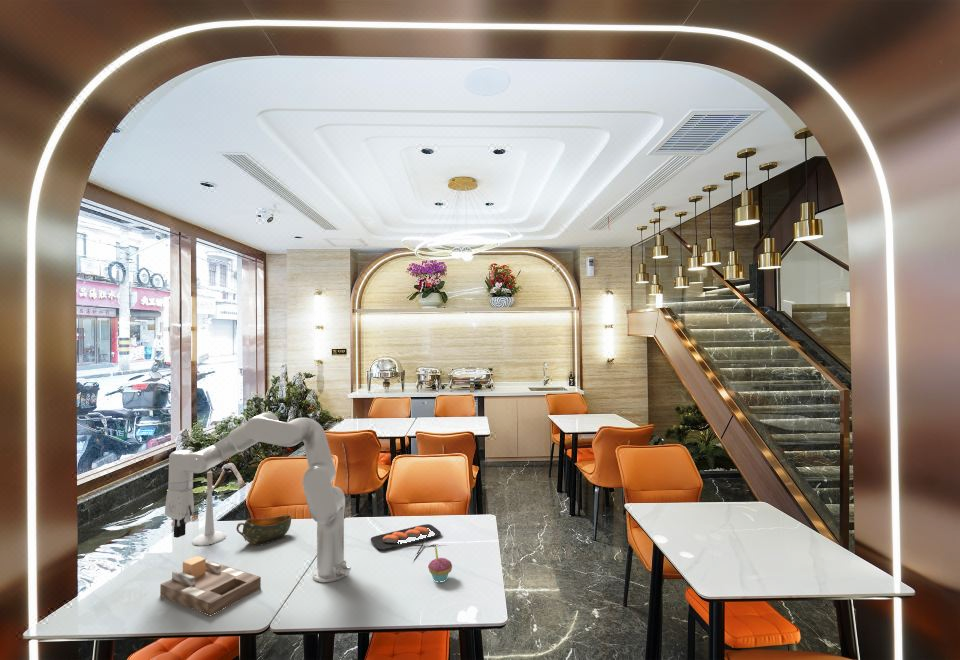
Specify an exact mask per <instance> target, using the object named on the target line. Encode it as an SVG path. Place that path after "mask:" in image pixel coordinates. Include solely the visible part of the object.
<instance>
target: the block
mask: <svg viewBox="0 0 960 660" xmlns="http://www.w3.org/2000/svg"><path fill="white" fill-rule="evenodd" d="M206 560H207V559H206V558H204V557H201V556H199V555H196V556H194V557H191V558H188V559H186V560H184V561H182V573H185V574H188V575H191V576H194V577H195V578H196V577H198V576H200V575H202V574H204V573H206Z"/></svg>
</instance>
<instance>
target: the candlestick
mask: <svg viewBox="0 0 960 660" xmlns="http://www.w3.org/2000/svg"><path fill="white" fill-rule="evenodd" d="M206 484H207V485H206V486H205V488H204V489H205V490H206V508H205V509H206V510H205V522H204V523H205V524H204V532H203V533H201V534H198V535H197V536H196V537H193V539H192V541H191V543H192V545H193V544H194V545H193V546H195V545H198V546H197V547H204V546H203V545H207V546H210V545H209V544H212V545H214V544H213V543H215V544H217V543H216V542H218V543H220V542H222V541H224V540H225V539H226V538H227V534H226V533H225V532H223V531H219V530H218V531H217V530H215V524H214V521H215V520H214V506H213V503H214V501H213V494H212V493H213V491H214V488H215V485H213V471H212V470H211V471H210V470H209V471H207V473H206ZM225 537H226V538H225ZM224 538H225V539H224ZM223 539H224V540H223ZM221 540H222V541H221ZM219 541H220V542H219Z"/></svg>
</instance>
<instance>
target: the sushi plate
mask: <svg viewBox="0 0 960 660" xmlns="http://www.w3.org/2000/svg"><path fill="white" fill-rule="evenodd" d="M427 528H429V529H430V530H431V531H433V532H434V533H435V535H434V536H431V537H427V536H428V534H429V532H430V531H429V529H427ZM420 534H422V535H427V536H426V538H423V539H419V540H415V541H411V542H407V543H402V544H400V542H399V544H398V543H397V542H398V540H406V539H407V538H408V537H416V538H418V537H419V536H420ZM441 535H442V532H441V531H440V530H439V529H438V528H436V527H435V526H434V525H432V524H429V523H427V524H420V525H417V526H412V527H408V528H404V529H400V530H395V531H391V532H387V533H382V534H379V535H374V536H372V537H370V542H371V543H372V544H373V546H374V547H375V548H376V549H377V550H380V551H386V550H390V549H393V548H394V549H395V548H398V547H420V548H419V549H418V551H417V553H416V554H418V553H419V554H420V552H419V551H421V550H422V548H423V547H424V546H423V545H425V542H426V540H430V539H433V538H437V537H439V536H441ZM421 541H423V542H422V544H414V543H418V542H421ZM412 544H413V545H412ZM419 554H418V555H419Z"/></svg>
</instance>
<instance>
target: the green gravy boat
mask: <svg viewBox="0 0 960 660" xmlns="http://www.w3.org/2000/svg"><path fill="white" fill-rule="evenodd" d="M291 524H292V515H290V514H285V515H280V516H275V517H268V518H248V519H246V520H245V522H239V523H237V525H236V531H237V533H239V534H240V535H241V536H242V537H243V538H244V541H246V542H248V544H249V545H250V546H253V545H256V546H262V545H261V544H263V545H266V543H267V544H269V543H270V542H271V543H273V541H274V542H276V540H277V541H279V540H281V539H283V538H285V536H286V534H287V533H288V531H289V530H290V527H291ZM240 526H242V531H240V529H239V528H240Z"/></svg>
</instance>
